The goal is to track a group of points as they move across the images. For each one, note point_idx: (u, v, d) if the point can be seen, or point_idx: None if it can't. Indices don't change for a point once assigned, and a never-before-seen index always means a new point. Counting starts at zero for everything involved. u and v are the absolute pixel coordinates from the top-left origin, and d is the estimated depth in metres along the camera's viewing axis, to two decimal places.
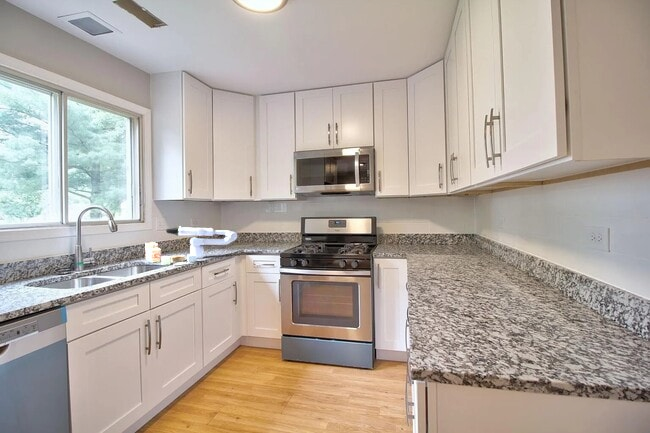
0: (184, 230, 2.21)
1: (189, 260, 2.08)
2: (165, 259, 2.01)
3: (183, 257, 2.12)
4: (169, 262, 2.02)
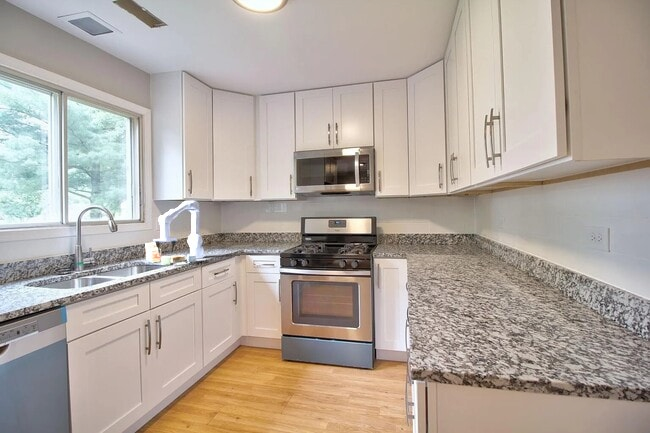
0: (169, 235, 2.03)
1: (189, 260, 2.08)
2: (165, 259, 2.01)
3: (183, 257, 2.13)
4: (169, 262, 2.02)
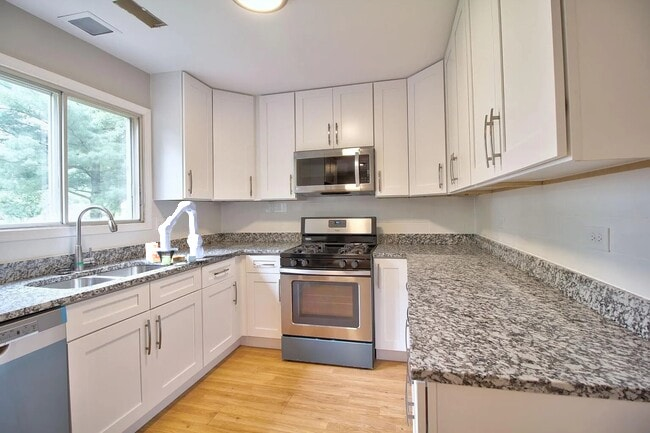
0: None
1: (189, 260, 2.08)
2: (165, 259, 2.01)
3: (183, 257, 2.13)
4: (169, 262, 2.02)
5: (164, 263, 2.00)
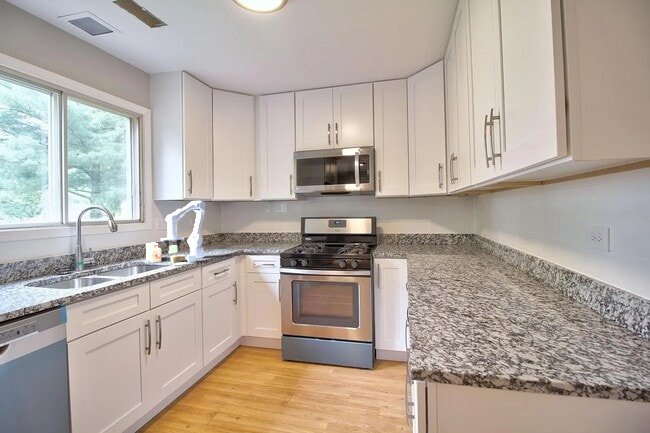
0: (176, 234, 2.10)
1: (189, 260, 2.08)
2: (172, 247, 2.07)
3: (184, 257, 2.13)
4: (176, 250, 2.08)
5: (171, 252, 2.07)
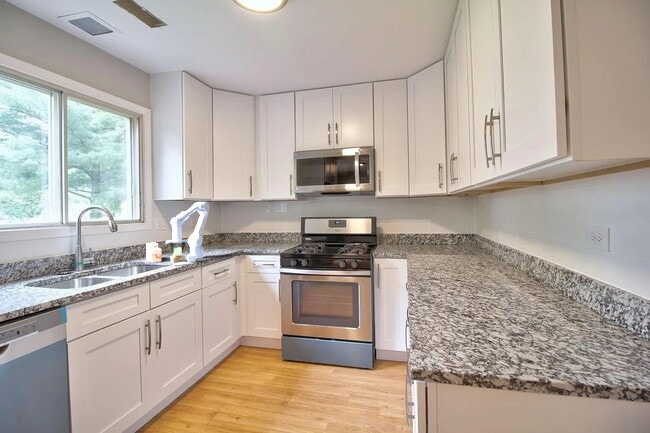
0: (181, 236, 2.14)
1: (189, 260, 2.08)
2: (177, 250, 2.11)
3: (184, 257, 2.13)
4: (180, 253, 2.13)
5: (176, 254, 2.11)
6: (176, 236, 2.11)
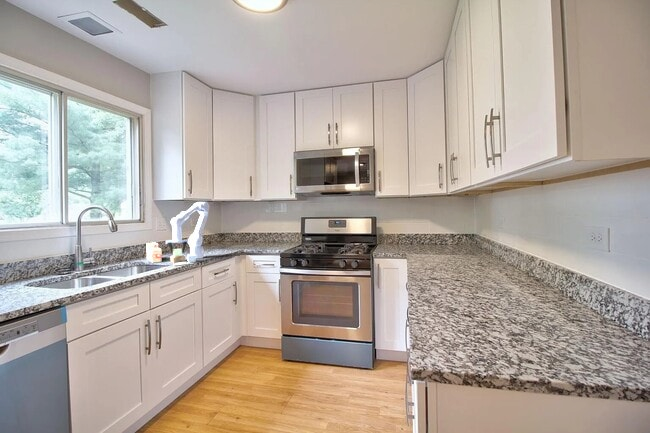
0: (181, 236, 2.14)
1: (189, 260, 2.08)
2: (177, 251, 2.11)
3: (184, 257, 2.13)
4: (180, 254, 2.13)
5: (176, 255, 2.11)
6: (176, 236, 2.11)
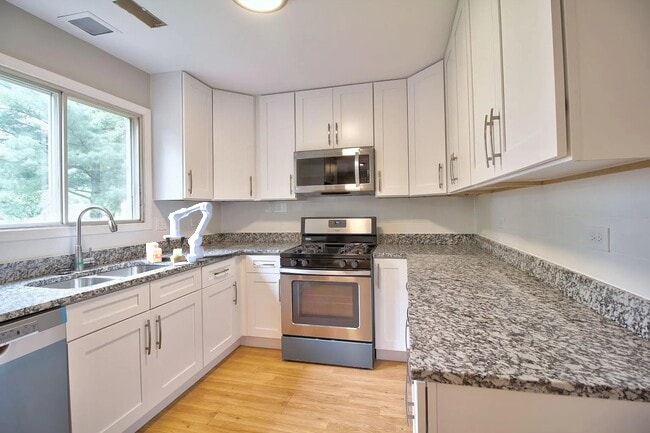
0: (179, 232, 2.16)
1: (189, 260, 2.08)
2: (177, 251, 2.11)
3: (184, 257, 2.13)
4: (180, 254, 2.13)
5: (176, 255, 2.11)
6: (174, 231, 2.13)
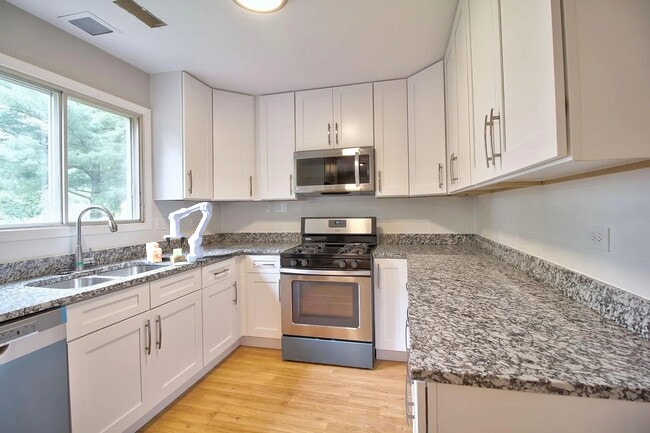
0: (179, 232, 2.16)
1: (189, 260, 2.08)
2: (177, 251, 2.12)
3: (184, 257, 2.13)
4: (180, 254, 2.13)
5: (176, 255, 2.11)
6: (174, 231, 2.13)
